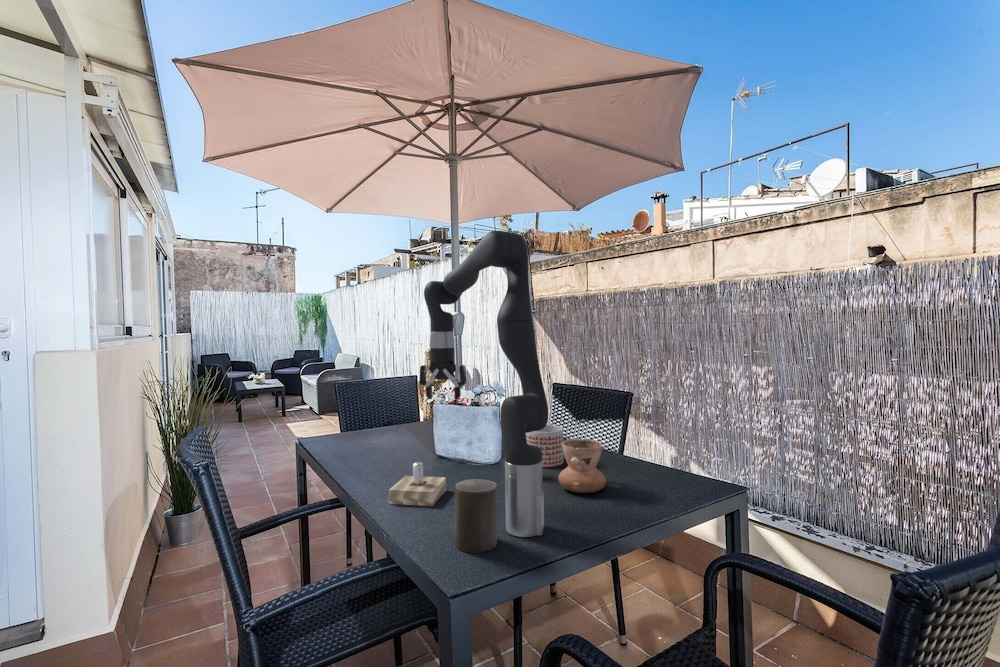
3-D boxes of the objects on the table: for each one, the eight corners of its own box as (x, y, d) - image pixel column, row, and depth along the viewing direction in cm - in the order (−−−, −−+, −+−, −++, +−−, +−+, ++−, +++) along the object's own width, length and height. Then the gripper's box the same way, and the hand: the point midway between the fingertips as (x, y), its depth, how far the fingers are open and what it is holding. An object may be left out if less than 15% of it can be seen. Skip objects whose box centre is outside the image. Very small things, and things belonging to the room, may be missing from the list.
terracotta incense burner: (598, 502, 136) (598, 452, 136) (550, 494, 142) (550, 446, 142) (613, 484, 152) (613, 439, 152) (569, 477, 159) (569, 434, 158)
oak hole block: (445, 490, 147) (445, 477, 147) (432, 506, 135) (432, 492, 135) (405, 488, 150) (405, 475, 150) (389, 503, 137) (388, 489, 137)
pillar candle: (469, 557, 105) (469, 489, 104) (447, 541, 112) (447, 478, 112) (505, 545, 110) (505, 481, 110) (482, 531, 118) (481, 470, 118)
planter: (533, 469, 167) (532, 433, 167) (521, 459, 180) (520, 425, 180) (569, 466, 171) (569, 430, 170) (555, 456, 184) (554, 423, 184)
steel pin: (425, 495, 143) (424, 462, 143) (421, 498, 140) (421, 465, 140) (415, 494, 144) (414, 461, 144) (411, 498, 141) (411, 464, 141)
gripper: (467, 345, 150) (468, 397, 150) (424, 346, 152) (425, 397, 152) (461, 346, 142) (462, 401, 143) (416, 347, 145) (417, 400, 145)
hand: (443, 399), depth 148 cm, fingers open, 8 cm apart
